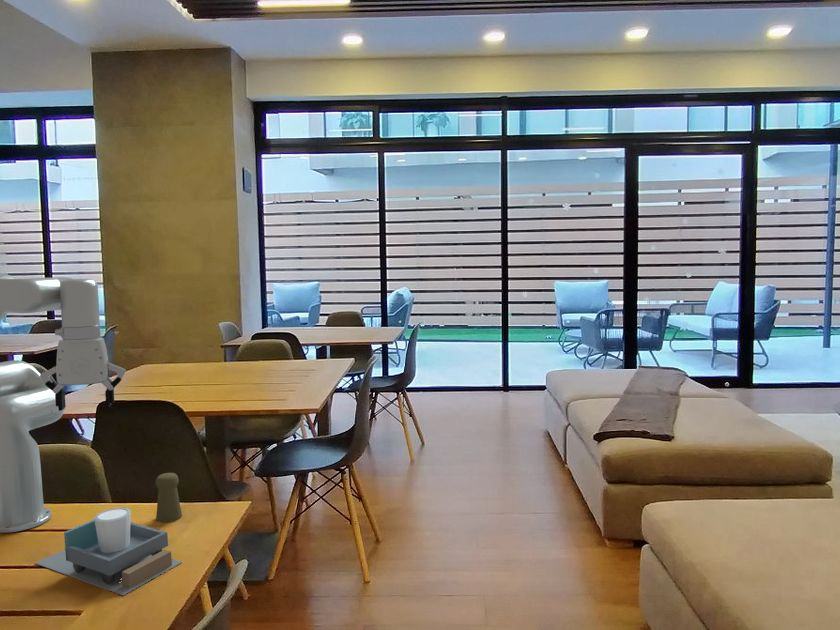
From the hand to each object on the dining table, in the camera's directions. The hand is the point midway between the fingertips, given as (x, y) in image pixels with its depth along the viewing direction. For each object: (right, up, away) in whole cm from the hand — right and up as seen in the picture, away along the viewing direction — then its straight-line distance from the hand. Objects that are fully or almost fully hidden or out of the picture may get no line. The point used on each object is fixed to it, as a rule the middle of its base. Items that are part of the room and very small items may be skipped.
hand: (85, 407), depth 141 cm
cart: (+14, -31, -13) cm, 36 cm away
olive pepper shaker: (+14, -29, +11) cm, 34 cm away
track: (+11, -31, -11) cm, 35 cm away
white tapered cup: (+13, -27, -12) cm, 32 cm away
